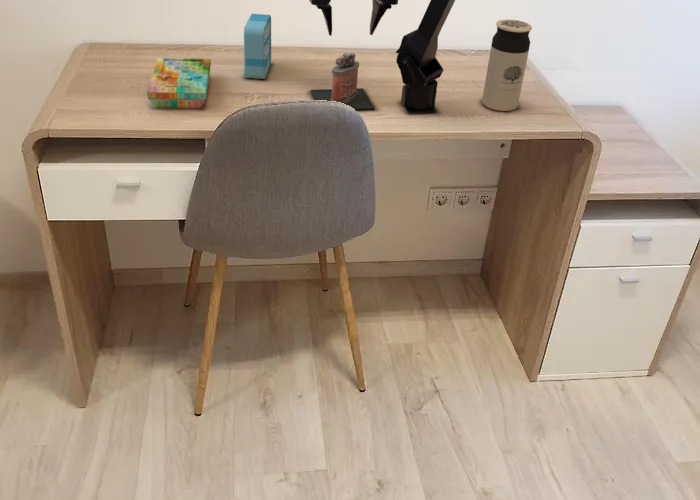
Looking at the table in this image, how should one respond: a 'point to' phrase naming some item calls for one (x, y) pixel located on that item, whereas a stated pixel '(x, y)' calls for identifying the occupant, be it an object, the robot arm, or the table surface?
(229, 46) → the table surface
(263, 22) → the data package
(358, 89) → the desk mat
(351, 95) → the lighter
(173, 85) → the puzzle game
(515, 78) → the travel mug
